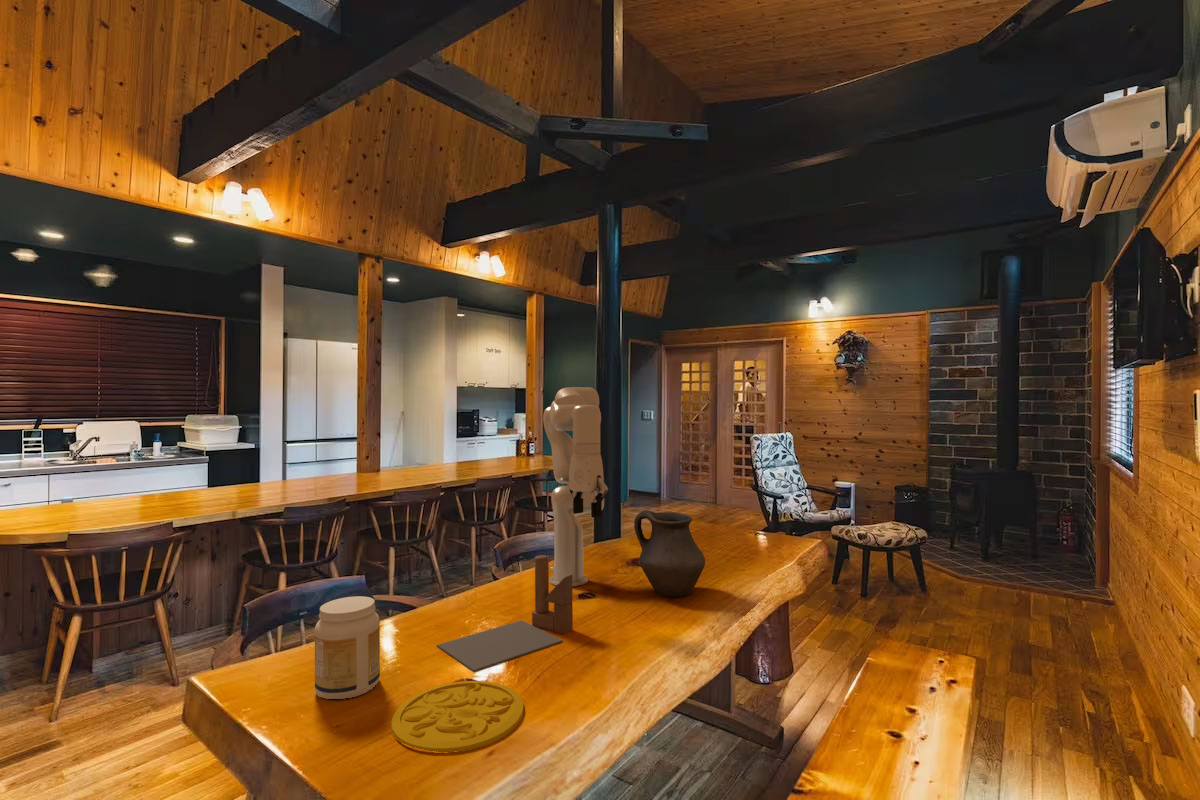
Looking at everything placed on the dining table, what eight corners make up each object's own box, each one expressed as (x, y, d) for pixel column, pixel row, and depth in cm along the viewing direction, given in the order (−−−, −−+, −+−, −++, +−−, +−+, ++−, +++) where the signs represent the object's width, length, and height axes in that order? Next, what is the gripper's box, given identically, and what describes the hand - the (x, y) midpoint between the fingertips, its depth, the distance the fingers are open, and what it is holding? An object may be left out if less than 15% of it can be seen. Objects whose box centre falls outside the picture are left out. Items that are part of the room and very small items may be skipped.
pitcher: (704, 605, 163) (703, 518, 164) (629, 601, 167) (629, 516, 168) (706, 584, 183) (705, 506, 184) (639, 581, 187) (638, 505, 188)
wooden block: (564, 634, 143) (564, 562, 143) (531, 626, 148) (531, 556, 149) (573, 629, 146) (572, 559, 146) (540, 621, 152) (540, 554, 152)
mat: (436, 646, 136) (436, 644, 136) (521, 621, 152) (521, 620, 152) (473, 672, 122) (473, 670, 122) (562, 641, 138) (562, 640, 138)
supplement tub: (361, 668, 124) (361, 590, 125) (391, 685, 117) (391, 601, 117) (303, 690, 115) (303, 605, 115) (331, 709, 107) (332, 618, 108)
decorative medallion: (445, 679, 120) (445, 669, 120) (545, 698, 112) (545, 688, 112) (361, 739, 98) (361, 727, 98) (477, 769, 90) (477, 756, 90)
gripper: (556, 449, 160) (557, 512, 160) (597, 452, 147) (597, 521, 147) (577, 448, 165) (578, 509, 165) (618, 450, 152) (618, 517, 152)
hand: (587, 514), depth 156 cm, fingers open, 7 cm apart
